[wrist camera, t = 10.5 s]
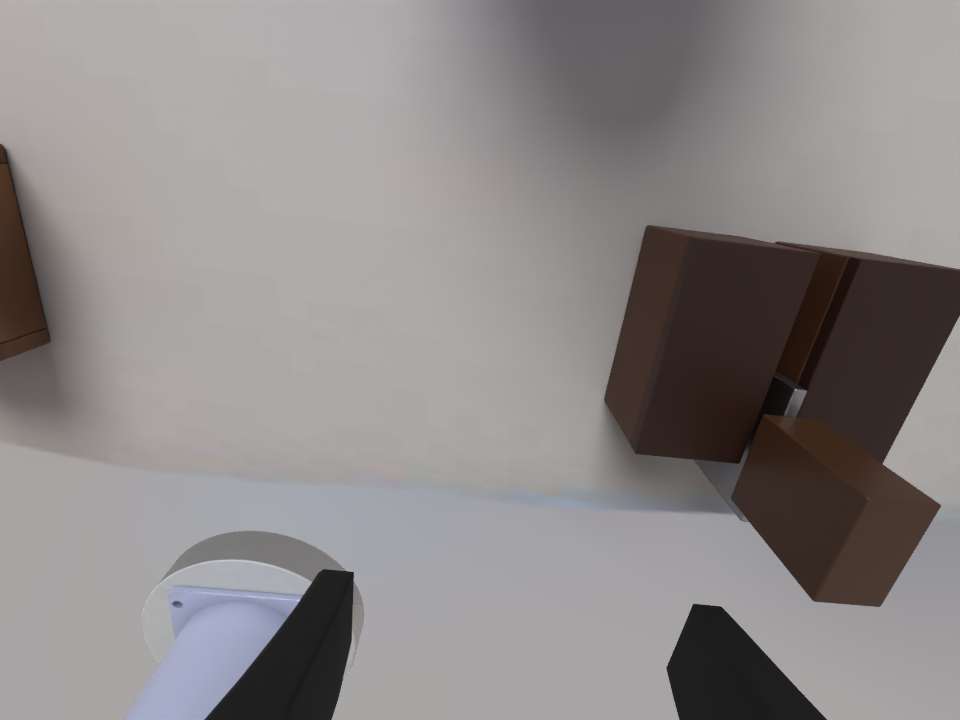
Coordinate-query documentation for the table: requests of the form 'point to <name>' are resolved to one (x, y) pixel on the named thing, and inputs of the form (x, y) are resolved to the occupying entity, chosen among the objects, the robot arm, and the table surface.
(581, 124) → the table surface
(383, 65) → the table surface
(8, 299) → the knife block
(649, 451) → the split wooden block
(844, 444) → the brown and grey piece
